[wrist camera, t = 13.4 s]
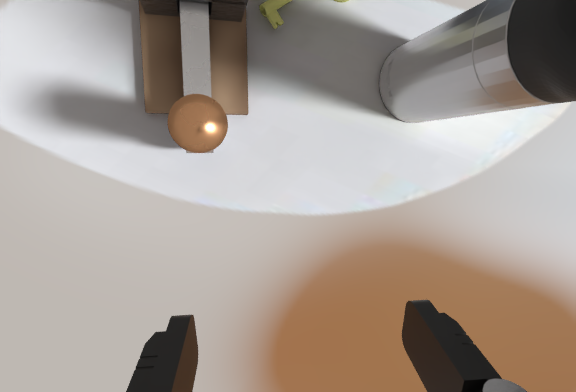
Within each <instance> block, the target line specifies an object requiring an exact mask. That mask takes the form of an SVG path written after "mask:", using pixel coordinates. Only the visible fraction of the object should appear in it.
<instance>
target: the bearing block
mask: <svg viewBox="0 0 576 392" xmlns="http://www.w3.org/2000/svg"><path fill="white" fill-rule="evenodd" d="M194 1H205V2H208V12H209V19H211V20H223V21H235V22H241V21H242V18H243V15H244V11H245V8H246V5H247V1H248V0H194ZM140 2H141V5H142V7H143V10H144V12H145V14H152V15H164V16H176V17H180V0H140Z"/></svg>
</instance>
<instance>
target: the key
mask: <svg viewBox="0 0 576 392" xmlns="http://www.w3.org/2000/svg"><path fill="white" fill-rule="evenodd" d="M290 1H292V0H267V1H266V2H264V3H262V4H261V5H260V6H259V8H260V11H261V13H262V15H263V16H264V17H266V16H267V18H268V20H269V21H270V23H271V24H272V26H273V28H274V29H276V28H277V27H278V25H279V26H281V25H282V24H283V23H284V22H283V20H282V18H281V17H280V15H279V14H278V12H277V9H279V8H281V7H282V6H284V5H285V4H287V3H289V2H290ZM334 1H337V2H346V1H348V0H334Z"/></svg>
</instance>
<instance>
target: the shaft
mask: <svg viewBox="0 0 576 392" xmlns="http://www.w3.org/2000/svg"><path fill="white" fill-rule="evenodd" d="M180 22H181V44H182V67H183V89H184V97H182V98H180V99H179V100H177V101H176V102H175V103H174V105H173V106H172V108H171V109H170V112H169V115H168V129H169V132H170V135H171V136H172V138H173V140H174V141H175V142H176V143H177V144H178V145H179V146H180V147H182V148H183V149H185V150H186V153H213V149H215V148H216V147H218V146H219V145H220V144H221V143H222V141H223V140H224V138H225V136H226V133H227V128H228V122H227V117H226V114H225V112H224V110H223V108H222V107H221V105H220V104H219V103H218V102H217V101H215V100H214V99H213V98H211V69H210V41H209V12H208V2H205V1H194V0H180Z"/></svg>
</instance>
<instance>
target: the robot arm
mask: <svg viewBox="0 0 576 392" xmlns="http://www.w3.org/2000/svg"><path fill="white" fill-rule="evenodd" d="M379 85H380V93H381V97H382V100H383V102H384V104H385V106H386V108H387V109H388V110H389V112H390V113H391V114H393V115H394V116H395V117H396V118H398V119H400V120H402V121H405V122H409V123H419V122H426V121H433V120H441V119H448V118H456V117H463V116H470V115H477V114H484V113H492V112H499V111H506V110H513V109H520V108H526V107H533V106H541V105H548V104H555V103H564V102H571V101H576V0H486V1H484V2H482V3H480V4H479V5H477V6H475V7H473V8H471V9H469V10H467V11H465V12H463V13H462V14H460V15H458V16H456V17H454V18H452V19H450V20H448V21H447V22H445V23H443V24H441V25H439V26H437V27H435V28H433V29H432V30H430V31H428V32H426V33H424V34H422V35H420V36H418V37H416V38H414V39H413V40H411V41H409V42H407V43H405V44H403V45H401V46H400V47H398V48H397V49H395V50H394V51H393V52H392V53H391V54H390V55H389V56H388V57H387V59H386V60H385V62H384V64H383V67H382V70H381V73H380V80H379ZM402 340H403V345H404V348H405V350H406V352H407V354H408V356H409V358H410V360H411V361H412V363H413V365H414V367H415V369H416V371H417V373H418V375H419V377H420V379H421V381H422V382H423V384H424V386H425V388H426V390H427V392H527V391H526V390H525V389H523V388H522V387H520V386H519V385H517V384H515V383H513V382H511V381H508V380H504V379H502V378H501V377H500V375H499V374H498V373H497V372H496V371H495V369H494V368H493V367H492V365H491V364H490V363H489V362H488V360H487V359H486V358H485V357H484V355H483V354H482V353H481V351H480V350H479V349H478V348H477V346H476V345H474V344H473V341H472V340H471V339H470V338H469V336H468V335H466V332H465V331H464V330H463V329H462V327H461V326H460V325H459V324H458V323H457V321H455V320H454V319H452V318H451V317H449V316H448V315H447V314H445V313H439V312H438V311H437V310H436V308H435V307H434V306H433V304H432V303H431V302H430V301H429V300H416V301H408V302H407V303H406V308H405V315H404V322H403V329H402ZM197 364H198V345H197V336H196V329H195V321H194V316H193V315H180V316H172V317H171V318H170V321H169V324H168V327H167V330H166V331H165V332H155V333H154V335H153V336H152V337H151V338H150V339H149V340H148V341H147V342H146V343H145V346H144V348H143V351H142V353H141V356H140V359H139V361H138V364H137V366H136V370H135V371H134V374H133V376H132V379H131V381H130V383H129V386H128V388H127V391H126V392H192V390H193V385H194V380H195V375H196V369H197Z"/></svg>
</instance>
